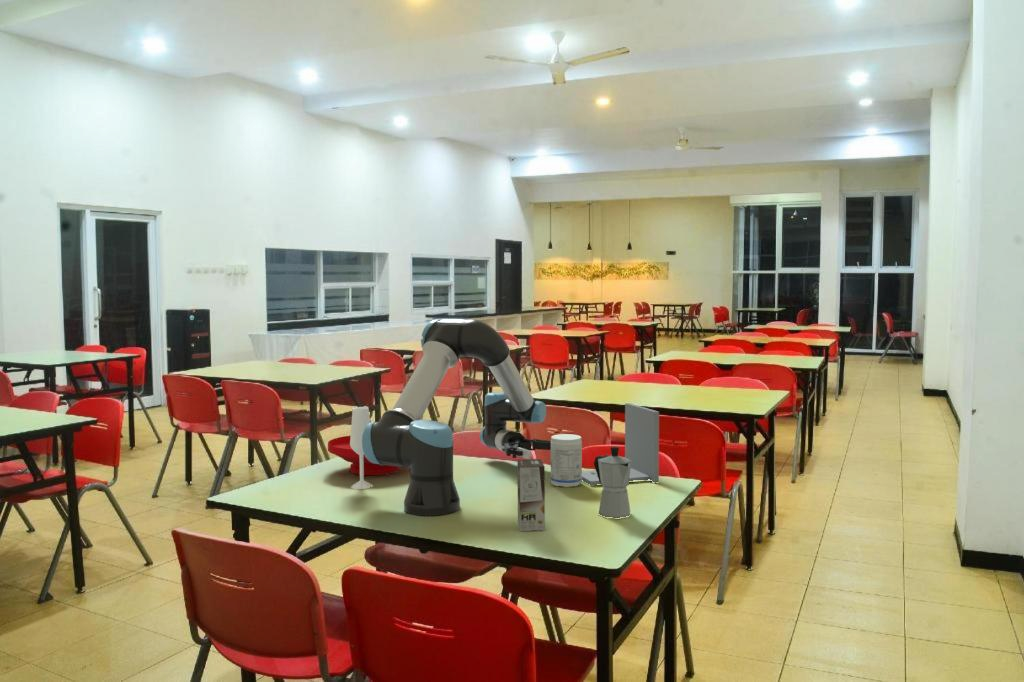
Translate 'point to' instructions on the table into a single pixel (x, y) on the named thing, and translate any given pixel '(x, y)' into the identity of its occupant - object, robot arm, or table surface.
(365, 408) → the champagne flute
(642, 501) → the table surface
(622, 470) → the coffee maker
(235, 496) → the table surface
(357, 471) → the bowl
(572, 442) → the supplement tub
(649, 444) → the socket stand
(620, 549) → the table surface
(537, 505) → the coffee box
